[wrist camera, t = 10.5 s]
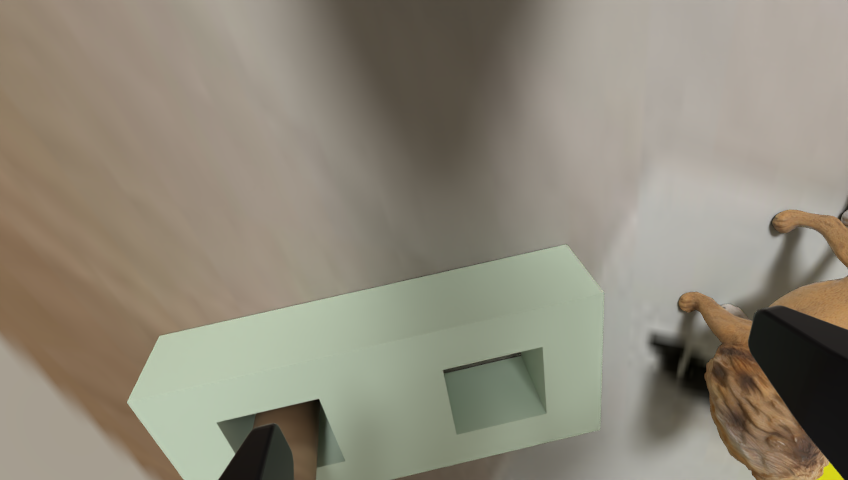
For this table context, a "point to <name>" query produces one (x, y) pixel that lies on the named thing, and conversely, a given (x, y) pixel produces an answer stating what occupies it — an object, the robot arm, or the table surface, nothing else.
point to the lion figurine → (746, 382)
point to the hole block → (392, 371)
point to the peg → (297, 434)
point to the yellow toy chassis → (830, 473)
